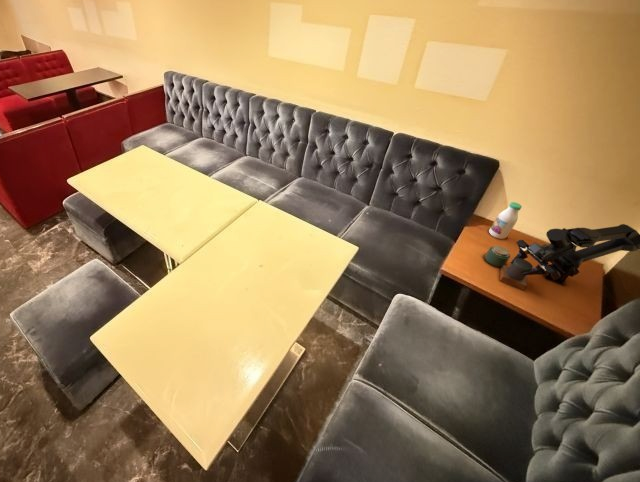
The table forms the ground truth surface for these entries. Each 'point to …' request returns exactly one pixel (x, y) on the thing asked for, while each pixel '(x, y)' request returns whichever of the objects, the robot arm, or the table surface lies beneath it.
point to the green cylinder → (497, 256)
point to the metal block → (507, 279)
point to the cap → (519, 268)
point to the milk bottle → (505, 221)
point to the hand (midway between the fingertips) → (516, 268)
